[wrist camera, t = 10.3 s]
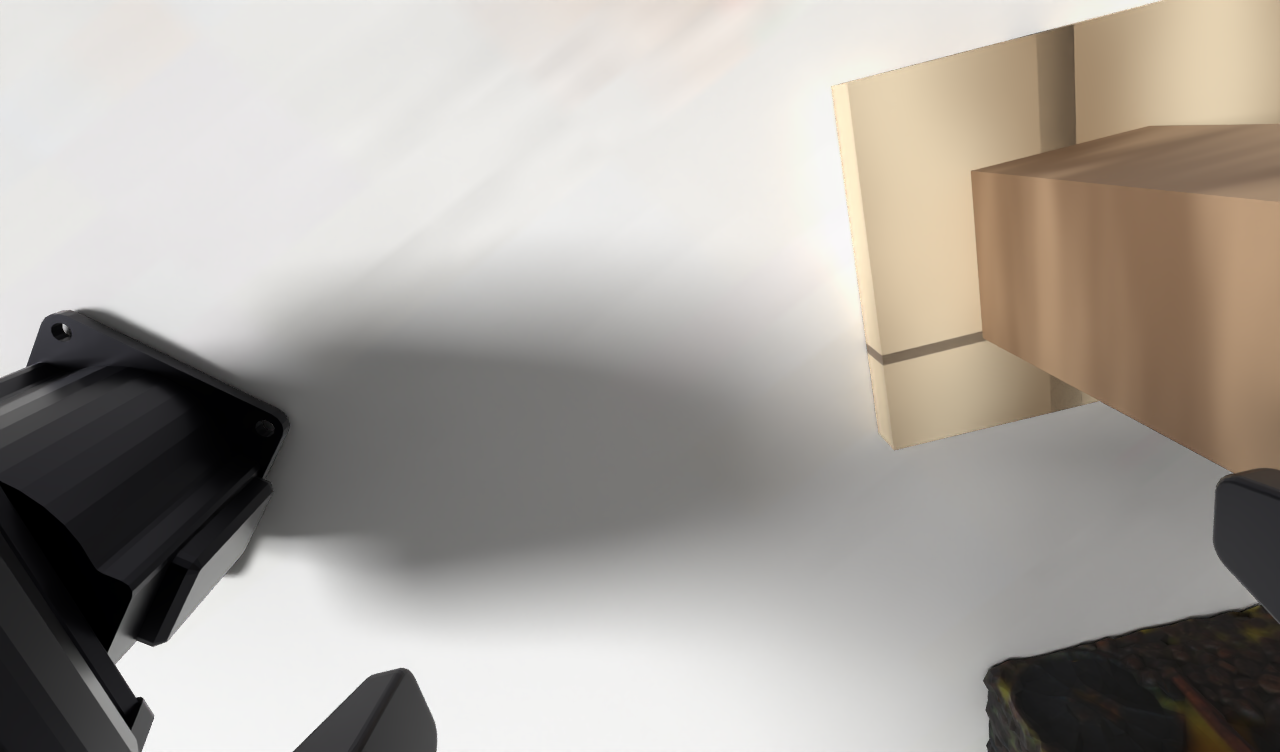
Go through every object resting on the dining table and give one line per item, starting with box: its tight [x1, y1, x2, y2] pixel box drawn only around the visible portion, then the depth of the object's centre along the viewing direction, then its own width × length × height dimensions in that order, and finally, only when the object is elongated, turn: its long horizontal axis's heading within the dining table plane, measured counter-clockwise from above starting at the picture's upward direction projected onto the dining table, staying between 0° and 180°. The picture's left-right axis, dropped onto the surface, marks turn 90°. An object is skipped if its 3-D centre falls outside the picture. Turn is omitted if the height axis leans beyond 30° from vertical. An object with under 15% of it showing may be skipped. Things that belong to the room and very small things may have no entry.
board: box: [831, 0, 1280, 450], centre depth 18 cm, size 22×10×1 cm, turn 103°
